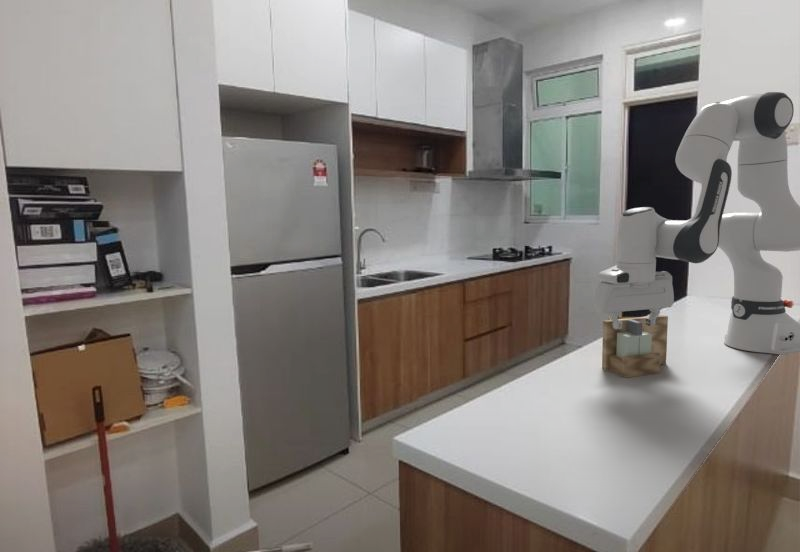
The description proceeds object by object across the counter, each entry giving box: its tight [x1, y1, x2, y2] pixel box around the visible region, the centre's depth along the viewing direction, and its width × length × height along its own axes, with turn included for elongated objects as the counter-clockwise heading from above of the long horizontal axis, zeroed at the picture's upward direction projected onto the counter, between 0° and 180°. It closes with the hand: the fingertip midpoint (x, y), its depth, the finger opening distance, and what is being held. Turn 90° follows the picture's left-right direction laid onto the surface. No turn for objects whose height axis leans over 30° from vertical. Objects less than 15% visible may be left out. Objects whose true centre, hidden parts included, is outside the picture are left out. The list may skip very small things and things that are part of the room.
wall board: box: [601, 314, 669, 379], centre depth 126 cm, size 18×8×13 cm, turn 101°
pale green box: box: [616, 319, 652, 358], centre depth 125 cm, size 7×4×9 cm, turn 101°
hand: (634, 327), depth 125 cm, fingers open, 8 cm apart
